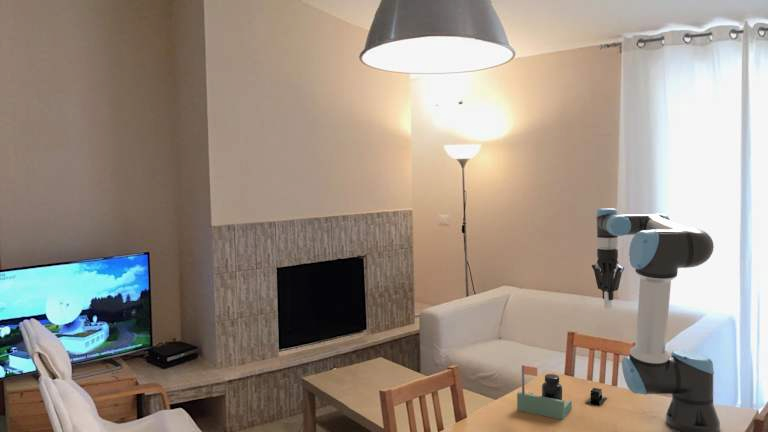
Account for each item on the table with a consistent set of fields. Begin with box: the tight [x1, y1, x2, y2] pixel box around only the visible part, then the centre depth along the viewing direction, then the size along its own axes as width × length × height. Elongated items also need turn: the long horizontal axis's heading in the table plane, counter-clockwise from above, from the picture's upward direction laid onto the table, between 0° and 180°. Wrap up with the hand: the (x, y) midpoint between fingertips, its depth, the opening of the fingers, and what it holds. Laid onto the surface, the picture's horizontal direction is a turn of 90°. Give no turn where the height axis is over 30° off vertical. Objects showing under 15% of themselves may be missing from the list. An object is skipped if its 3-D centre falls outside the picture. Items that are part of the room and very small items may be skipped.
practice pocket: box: [516, 364, 573, 421], centre depth 198 cm, size 10×16×16 cm, turn 55°
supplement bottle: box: [541, 373, 563, 400], centre depth 198 cm, size 7×7×12 cm
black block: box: [584, 387, 608, 407], centre depth 205 cm, size 12×7×5 cm, turn 145°
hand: (608, 307), depth 222 cm, fingers closed
